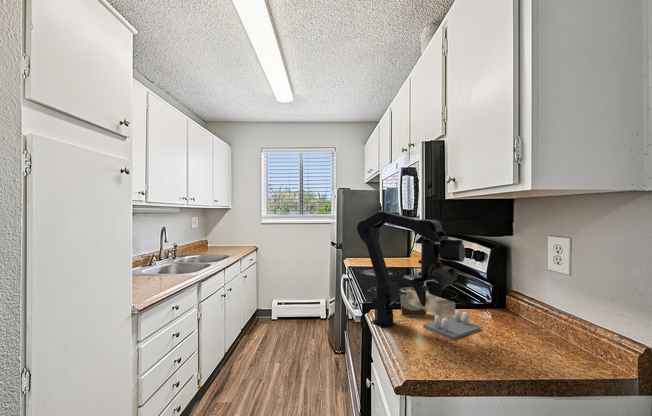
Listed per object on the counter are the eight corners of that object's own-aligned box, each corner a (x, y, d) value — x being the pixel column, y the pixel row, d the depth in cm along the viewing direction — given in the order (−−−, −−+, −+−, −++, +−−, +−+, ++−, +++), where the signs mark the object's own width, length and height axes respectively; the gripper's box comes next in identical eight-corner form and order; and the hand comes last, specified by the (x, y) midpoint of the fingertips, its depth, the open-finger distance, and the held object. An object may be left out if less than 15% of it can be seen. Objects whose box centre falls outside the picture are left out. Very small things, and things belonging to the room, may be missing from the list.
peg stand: (423, 327, 108) (423, 313, 108) (450, 318, 117) (450, 306, 117) (453, 340, 98) (453, 324, 98) (480, 329, 107) (480, 315, 107)
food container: (426, 311, 125) (426, 287, 125) (429, 316, 119) (430, 291, 119) (395, 310, 126) (396, 286, 126) (398, 315, 120) (398, 290, 120)
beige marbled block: (406, 302, 105) (406, 291, 105) (417, 300, 107) (417, 289, 107) (443, 318, 91) (444, 304, 91) (455, 315, 93) (455, 302, 93)
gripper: (426, 264, 88) (426, 317, 88) (470, 260, 96) (470, 308, 96) (401, 258, 98) (401, 305, 98) (443, 255, 106) (442, 299, 106)
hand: (429, 305), depth 99 cm, fingers closed on beige marbled block, 5 cm apart
